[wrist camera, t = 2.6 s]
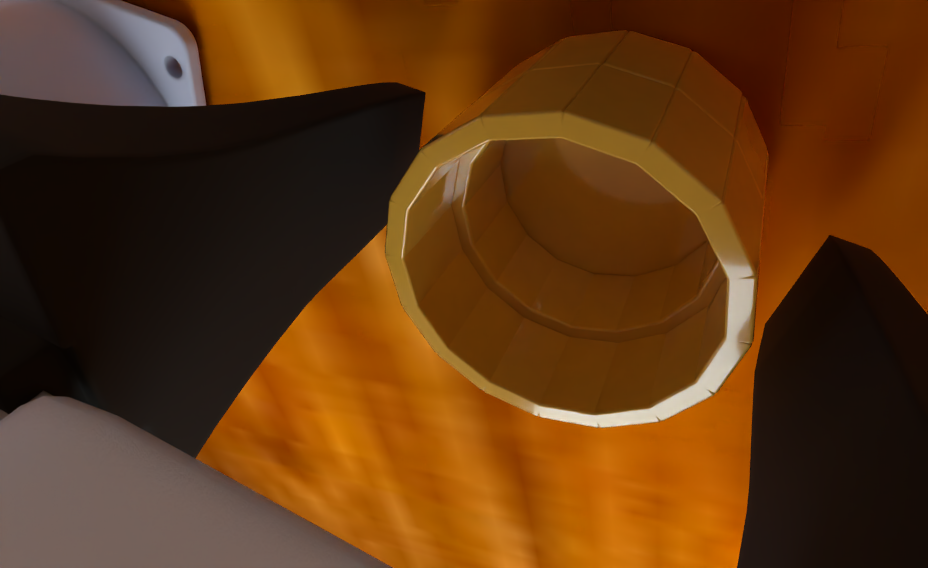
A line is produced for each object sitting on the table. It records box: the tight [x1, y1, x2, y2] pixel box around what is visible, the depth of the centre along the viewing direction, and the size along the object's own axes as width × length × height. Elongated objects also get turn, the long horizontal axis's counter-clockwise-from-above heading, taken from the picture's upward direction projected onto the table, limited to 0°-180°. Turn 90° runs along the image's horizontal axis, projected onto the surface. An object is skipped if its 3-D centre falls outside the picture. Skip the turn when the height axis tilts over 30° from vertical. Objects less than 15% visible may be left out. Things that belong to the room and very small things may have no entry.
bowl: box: [385, 30, 769, 428], centre depth 10 cm, size 5×5×4 cm
